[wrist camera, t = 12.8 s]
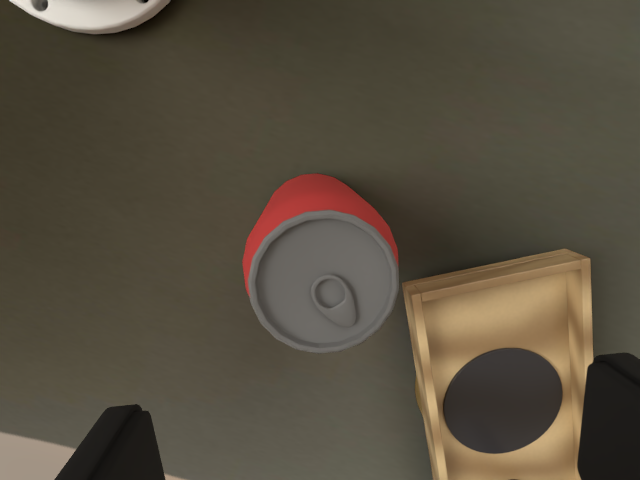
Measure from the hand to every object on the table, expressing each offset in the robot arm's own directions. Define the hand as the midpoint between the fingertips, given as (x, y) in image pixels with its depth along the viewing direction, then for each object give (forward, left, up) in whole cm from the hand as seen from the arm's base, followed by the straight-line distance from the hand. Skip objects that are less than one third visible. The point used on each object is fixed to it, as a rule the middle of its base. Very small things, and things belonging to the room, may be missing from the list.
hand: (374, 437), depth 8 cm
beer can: (-1, +1, -18) cm, 18 cm away
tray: (+11, -12, -17) cm, 24 cm away
